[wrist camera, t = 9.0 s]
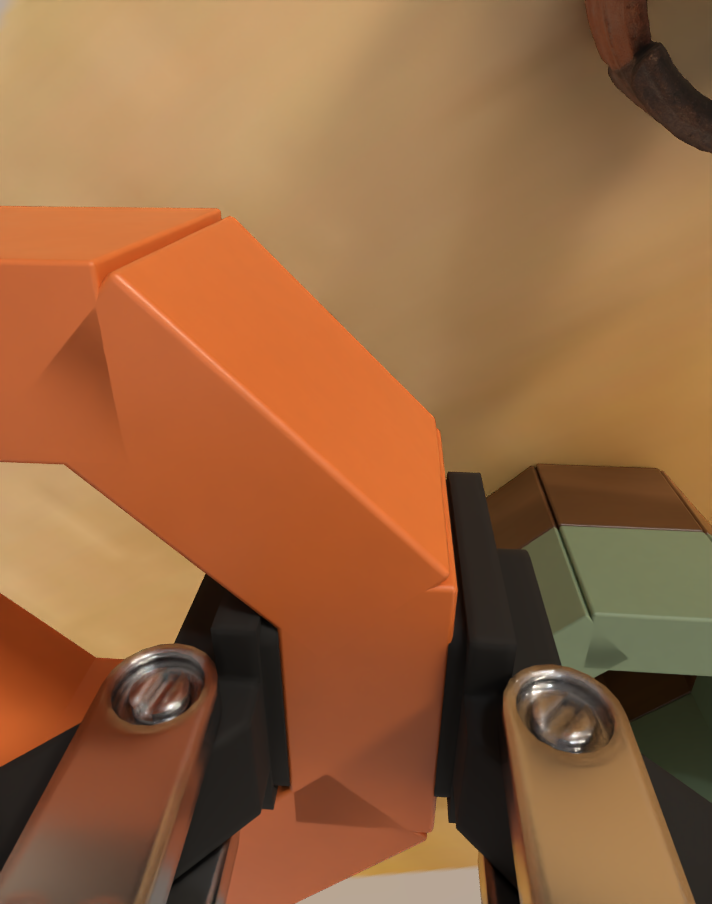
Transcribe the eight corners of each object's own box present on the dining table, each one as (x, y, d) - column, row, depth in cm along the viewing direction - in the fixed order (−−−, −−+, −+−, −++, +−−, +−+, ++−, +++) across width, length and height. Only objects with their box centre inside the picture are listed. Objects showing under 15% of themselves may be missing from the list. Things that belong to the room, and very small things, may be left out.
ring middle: (452, 519, 19) (461, 606, 16) (817, 535, 19) (913, 631, 15) (432, 748, 24) (435, 852, 21) (717, 768, 24) (770, 879, 20)
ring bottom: (446, 459, 23) (452, 519, 19) (752, 471, 22) (817, 535, 19) (429, 670, 28) (432, 748, 24) (677, 685, 27) (717, 768, 24)
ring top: (-284, 202, 9) (-721, 247, 6) (456, 211, 8) (492, 267, 5) (-55, 709, 14) (-208, 899, 11) (417, 740, 14) (421, 954, 10)
